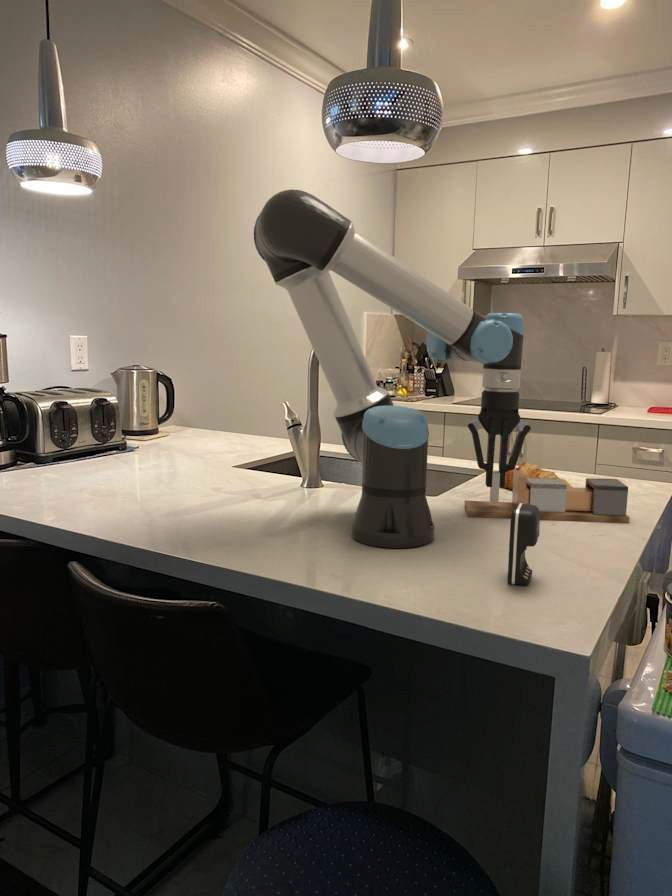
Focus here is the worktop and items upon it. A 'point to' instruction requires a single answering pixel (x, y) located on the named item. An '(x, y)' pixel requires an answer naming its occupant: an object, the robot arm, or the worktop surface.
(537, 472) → the croissant
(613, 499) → the grey box
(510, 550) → the battery charger
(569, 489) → the wood grain post
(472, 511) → the board
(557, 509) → the grey concrete cube
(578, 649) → the worktop surface
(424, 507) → the robot arm
